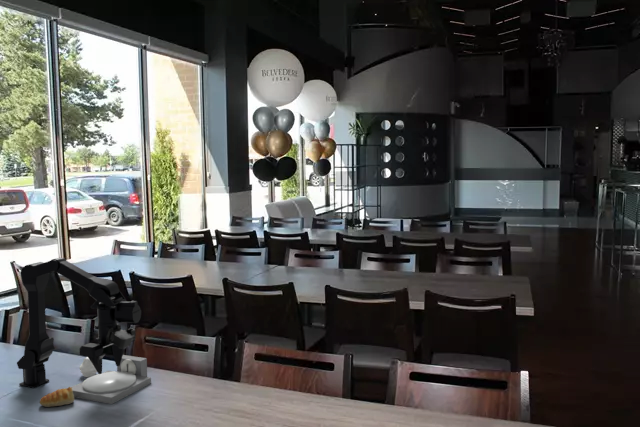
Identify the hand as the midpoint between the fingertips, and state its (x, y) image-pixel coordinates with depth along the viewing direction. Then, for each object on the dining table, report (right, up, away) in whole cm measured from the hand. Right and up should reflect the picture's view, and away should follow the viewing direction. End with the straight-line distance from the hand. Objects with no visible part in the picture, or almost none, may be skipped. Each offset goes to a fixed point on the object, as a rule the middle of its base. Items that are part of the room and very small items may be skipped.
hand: (109, 369), depth 181 cm
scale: (+1, -6, +2) cm, 7 cm away
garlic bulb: (-11, -6, +12) cm, 17 cm away
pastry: (-14, -8, -9) cm, 19 cm away
